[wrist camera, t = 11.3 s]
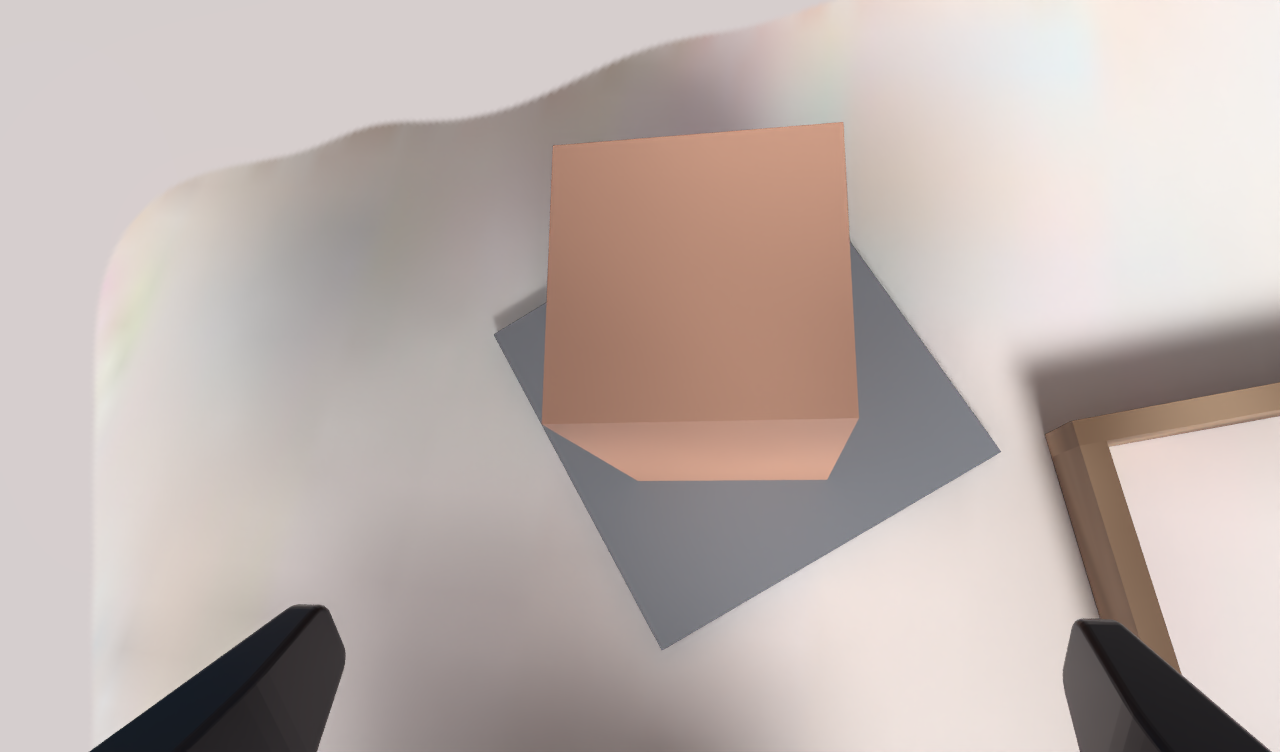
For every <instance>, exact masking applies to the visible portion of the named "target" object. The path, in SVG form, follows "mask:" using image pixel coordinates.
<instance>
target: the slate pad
mask: <svg viewBox="0 0 1280 752" xmlns="http://www.w3.org/2000/svg"><path fill="white" fill-rule="evenodd" d="M850 258H851V276H852V295H853V314H854V333H855V352H856V370H857V389H858V408H859V419H858V421H857V423H856V425H855V427H854V429H853V431H852V433H851V435H850V437H849V438H848V440H847V442H846V444H845V446H844V448H843V450H842V452H841V454H840V456H839V458H838V460H837V462H836V464H835V465H834V467H833V469H832V471H831V473H830V475H829V477H828V479H827V480H722V481H637V480H635V479H634V478H632V477H630V476H629V475H627V474H625V473H623V472H622V471H620V470H618V469H617V468H615V467H613V466H612V465H610V464H608V463H606V462H605V461H603V460H601V459H600V458H598V457H596V456H595V455H593V454H591V453H590V452H588V451H586V450H584V449H583V448H581V447H579V446H578V445H576V444H574V443H573V442H571V441H569V440H568V439H566V438H564V437H562V436H561V435H559V434H557V433H556V432H554V431H552V430H551V429H549V428H547V427H545V426H544V425H542V426H543V428H544V430H545V432H546V434H547V435H548V437H549V439H550V441H551V443H552V445H553V447H554V449H555V451H556V452H557V454H558V456H559V458H560V460H561V462H562V464H563V466H564V467H565V469H566V471H567V473H568V475H569V477H570V479H571V481H572V482H573V484H574V486H575V488H576V490H577V492H578V494H579V496H580V497H581V499H582V501H583V503H584V505H585V507H586V509H587V511H588V513H589V514H590V516H591V518H592V520H593V522H594V524H595V526H596V528H597V529H598V531H599V533H600V535H601V537H602V539H603V541H604V543H605V544H606V546H607V548H608V550H609V552H610V554H611V556H612V558H613V559H614V561H615V563H616V565H617V567H618V569H619V571H620V573H621V574H622V576H623V578H624V580H625V582H626V584H627V586H628V588H629V590H630V591H631V593H632V595H633V597H634V599H635V601H636V603H637V605H638V606H639V608H640V610H641V612H642V614H643V616H644V618H645V620H646V621H647V623H648V625H649V627H650V629H651V631H652V633H653V635H654V636H655V638H656V640H657V642H658V644H659V646H660V648H661V650H664V649H665V648H667V647H669V646H670V645H672V644H674V643H676V642H677V641H679V640H681V639H682V638H684V637H686V636H687V635H689V634H691V633H693V632H694V631H696V630H698V629H699V628H701V627H703V626H705V625H706V624H708V623H710V622H711V621H713V620H715V619H717V618H718V617H720V616H722V615H723V614H725V613H727V612H728V611H730V610H732V609H734V608H735V607H737V606H739V605H740V604H742V603H744V602H746V601H747V600H749V599H751V598H752V597H754V596H756V595H758V594H759V593H761V592H763V591H764V590H766V589H768V588H769V587H771V586H773V585H775V584H776V583H778V582H780V581H781V580H783V579H785V578H787V577H788V576H790V575H792V574H793V573H795V572H797V571H799V570H800V569H802V568H804V567H805V566H807V565H809V564H810V563H812V562H814V561H816V560H817V559H819V558H821V557H822V556H824V555H826V554H828V553H829V552H831V551H833V550H834V549H836V548H838V547H839V546H841V545H843V544H845V543H846V542H848V541H850V540H851V539H853V538H855V537H857V536H858V535H860V534H862V533H863V532H865V531H867V530H869V529H870V528H872V527H874V526H875V525H877V524H879V523H880V522H882V521H884V520H886V519H887V518H889V517H891V516H892V515H894V514H896V513H898V512H899V511H901V510H903V509H904V508H906V507H908V506H910V505H911V504H913V503H915V502H916V501H918V500H920V499H921V498H923V497H925V496H927V495H928V494H930V493H932V492H933V491H935V490H937V489H939V488H940V487H942V486H944V485H945V484H947V483H949V482H951V481H952V480H954V479H956V478H957V477H959V476H961V475H962V474H964V473H966V472H968V471H969V470H971V469H973V468H974V467H976V466H978V465H980V464H981V463H983V462H985V461H986V460H988V459H990V458H992V457H993V456H995V455H997V454H998V453H1000V452H1001V451H1000V449H999V448H998V447H997V445H996V444H995V443H994V441H993V440H992V438H991V437H990V436H989V434H988V433H987V431H986V430H985V429H984V427H983V426H982V424H981V423H980V422H979V420H978V419H977V417H976V416H975V415H974V413H973V412H972V411H971V409H970V408H969V406H968V405H967V404H966V402H965V401H964V399H963V398H962V397H961V395H960V394H959V392H958V391H957V390H956V388H955V387H954V385H953V384H952V383H951V381H950V380H949V379H948V377H947V376H946V374H945V373H944V372H943V370H942V369H941V367H940V366H939V365H938V363H937V362H936V360H935V359H934V358H933V356H932V355H931V353H930V352H929V351H928V349H927V348H926V347H925V345H924V344H923V342H922V341H921V340H920V338H919V337H918V335H917V334H916V333H915V331H914V330H913V328H912V327H911V326H910V324H909V323H908V321H907V320H906V319H905V317H904V316H903V315H902V313H901V312H900V310H899V309H898V308H897V306H896V305H895V303H894V302H893V301H892V299H891V298H890V296H889V295H888V294H887V292H886V291H885V289H884V288H883V287H882V285H881V284H880V283H879V281H878V280H877V278H876V277H875V276H874V274H873V273H872V271H871V270H870V269H869V267H868V266H867V264H866V263H865V262H864V260H863V259H862V257H861V256H860V255H859V253H858V252H857V251H856V249H855V248H854V246H853V245H852V244H851V242H850ZM546 304H547V302H546V303H545V304H543V305H541V306H540V307H538V308H536V309H535V310H533V311H531V312H530V313H528V314H526V315H525V316H523V317H522V318H520V319H518V320H517V321H515V322H513V323H512V324H510V325H508V326H507V327H505V328H503V329H502V330H500V331H498V332H497V333H495V334H494V336H495V338H496V340H497V342H498V343H499V345H500V347H501V349H502V351H503V353H504V355H505V357H506V358H507V360H508V362H509V364H510V366H511V368H512V370H513V372H514V374H515V375H516V377H517V379H518V381H519V383H520V385H521V387H522V389H523V390H524V392H525V394H526V396H527V398H528V400H529V402H530V404H531V405H532V407H533V409H534V411H535V413H536V415H537V417H538V419H539V420H540V422H541V424H542V404H543V379H544V354H545V329H546Z"/></svg>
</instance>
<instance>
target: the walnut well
mask: <svg viewBox="0 0 1280 752" xmlns="http://www.w3.org/2000/svg"><path fill="white" fill-rule="evenodd" d="M1277 416H1280V382H1279V383H1274V384H1268V385H1263V386H1258V387H1252V388H1247V389H1241V390H1236V391H1231V392H1225V393H1220V394H1214V395H1209V396H1203V397H1198V398H1193V399H1187V400H1182V401H1176V402H1171V403H1166V404H1160V405H1155V406H1149V407H1144V408H1139V409H1133V410H1128V411H1122V412H1117V413H1112V414H1106V415H1101V416H1095V417H1090V418H1084V419H1079V420H1074V421H1071V422H1069V423H1067V424H1065V425H1063V426H1061V427H1059V428H1057V429H1055V430H1053V431H1051V432H1049V433H1047V434H1045V436H1046V440H1047V443H1048V446H1049V449H1050V453H1051V456H1052V459H1053V463H1054V466H1055V469H1056V473H1057V476H1058V479H1059V483H1060V486H1061V489H1062V493H1063V496H1064V499H1065V503H1066V506H1067V509H1068V513H1069V516H1070V519H1071V522H1072V526H1073V529H1074V532H1075V536H1076V539H1077V542H1078V546H1079V549H1080V552H1081V556H1082V559H1083V562H1084V566H1085V569H1086V572H1087V576H1088V579H1089V582H1090V585H1091V589H1092V592H1093V595H1094V599H1095V602H1096V605H1097V609H1098V612H1099V615H1100V619H1111V620H1115V621H1117V622H1119V623H1121V624H1122V625H1124V626H1125V627H1126V628H1127V629H1129V630H1130V631H1131V632H1132V633H1133V634H1134V635H1136V636H1137V637H1138V638H1139V639H1140V640H1141V641H1143V642H1144V643H1145V644H1146V645H1147V646H1148V647H1150V648H1151V649H1152V650H1153V651H1154V652H1155V653H1157V654H1158V655H1159V656H1160V657H1161V658H1162V659H1164V660H1165V661H1166V662H1167V663H1168V664H1169V665H1171V666H1172V667H1173V668H1174V669H1175V670H1176V671H1178V672H1179V673H1180V674H1181V671H1180V668H1179V665H1178V662H1177V659H1176V656H1175V652H1174V649H1173V646H1172V643H1171V640H1170V637H1169V634H1168V631H1167V628H1166V624H1165V621H1164V618H1163V615H1162V612H1161V609H1160V606H1159V603H1158V599H1157V596H1156V593H1155V590H1154V587H1153V584H1152V581H1151V578H1150V575H1149V571H1148V568H1147V565H1146V562H1145V559H1144V556H1143V553H1142V550H1141V547H1140V543H1139V540H1138V537H1137V534H1136V531H1135V528H1134V525H1133V522H1132V519H1131V515H1130V512H1129V509H1128V506H1127V503H1126V500H1125V497H1124V494H1123V491H1122V487H1121V484H1120V481H1119V478H1118V475H1117V472H1116V469H1115V466H1114V463H1113V459H1112V456H1111V453H1110V450H1109V447H1110V446H1116V445H1121V444H1127V443H1132V442H1138V441H1144V440H1149V439H1155V438H1160V437H1166V436H1171V435H1177V434H1182V433H1188V432H1194V431H1199V430H1205V429H1210V428H1216V427H1221V426H1227V425H1233V424H1238V423H1244V422H1249V421H1255V420H1260V419H1266V418H1271V417H1277ZM1181 675H1182V674H1181Z"/></svg>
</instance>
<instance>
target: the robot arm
mask: <svg viewBox="0 0 1280 752" xmlns="http://www.w3.org/2000/svg"><path fill="white" fill-rule="evenodd" d="M344 665H345V648H344V645H343V643H342V640H341V638H340V635H339V633H338V631H337V628H336V626H335V623H334V621H333V619H332V616H331V614H330V612H329V610H328V609H327V608H326V607H325V606H323V605H307V604H298V605H293V606H291V607H289V608H288V609H286V610H285V611H283V612H282V613H281V614H279V615H278V616H277V617H275V618H274V619H272V620H271V621H270V622H268V623H267V624H265V625H264V626H263V627H261V628H260V629H259V630H257V631H256V632H254V633H253V634H252V635H250V636H249V637H247V638H246V639H245V640H243V641H242V642H241V643H239V644H238V645H236V646H235V647H234V648H232V649H231V650H229V651H228V652H227V653H225V654H224V655H223V656H221V657H220V658H218V659H217V660H216V661H214V662H213V663H211V664H210V665H209V666H207V667H206V668H205V669H203V670H202V671H200V672H199V673H198V674H196V675H195V676H193V677H192V678H191V679H189V680H188V681H187V682H185V683H184V684H182V685H181V686H180V687H178V688H177V689H175V690H174V691H173V692H171V693H170V694H169V695H167V696H166V697H164V698H163V699H162V700H160V701H159V702H157V703H156V704H155V705H153V706H152V707H151V708H149V709H148V710H146V711H145V712H144V713H142V714H141V715H139V716H138V717H137V718H135V719H134V720H133V721H131V722H130V723H128V724H127V725H126V726H124V727H123V728H121V729H120V730H119V731H117V732H116V733H115V734H113V735H112V736H110V737H109V738H108V739H106V740H105V741H103V742H102V743H101V744H99V745H98V746H97V747H95V748H94V749H92V750H91V751H90V752H317V750H318V747H319V743H320V740H321V737H322V734H323V731H324V728H325V725H326V722H327V719H328V716H329V713H330V710H331V707H332V703H333V700H334V697H335V694H336V691H337V688H338V685H339V682H340V679H341V676H342V673H343V669H344ZM1063 684H1064V690H1065V695H1066V699H1067V703H1068V706H1069V710H1070V714H1071V718H1072V722H1073V726H1074V730H1075V734H1076V738H1077V742H1078V746H1079V750H1080V752H1271V751H1270V750H1269V749H1268V748H1267V747H1265V746H1264V745H1263V744H1262V743H1261V742H1260V741H1258V740H1257V739H1256V738H1255V737H1254V736H1252V735H1251V734H1250V733H1249V732H1248V731H1247V730H1245V729H1244V728H1243V727H1242V726H1241V725H1240V724H1238V723H1237V722H1236V721H1235V720H1234V719H1233V718H1231V717H1230V716H1229V715H1228V714H1227V713H1226V712H1224V711H1223V710H1222V709H1221V708H1220V707H1219V706H1217V705H1216V704H1215V703H1214V702H1213V701H1212V700H1210V699H1209V698H1208V697H1207V696H1206V695H1205V694H1203V693H1202V692H1201V691H1200V690H1199V689H1198V688H1196V687H1195V686H1194V685H1193V684H1192V683H1191V682H1189V681H1188V680H1187V679H1186V678H1185V677H1183V676H1182V675H1181V674H1180V673H1179V672H1178V671H1176V670H1175V669H1174V668H1173V667H1172V666H1171V665H1169V664H1168V663H1167V662H1166V661H1165V660H1164V659H1162V658H1161V657H1160V656H1159V655H1158V654H1157V653H1155V652H1154V651H1153V650H1152V649H1151V648H1150V647H1148V646H1147V645H1146V644H1145V643H1144V642H1143V641H1141V640H1140V639H1139V638H1138V637H1137V636H1136V635H1134V634H1133V633H1132V632H1131V631H1130V630H1129V629H1127V628H1126V627H1125V626H1124V625H1122V624H1121V623H1119V622H1117V621H1115V620H1111V619H1079V620H1077V621H1075V623H1074V624H1073V626H1072V629H1071V634H1070V639H1069V643H1068V648H1067V653H1066V658H1065V662H1064V667H1063Z"/></svg>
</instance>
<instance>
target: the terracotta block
mask: <svg viewBox="0 0 1280 752" xmlns="http://www.w3.org/2000/svg"><path fill="white" fill-rule="evenodd" d="M858 419H859V408H858V389H857V370H856V352H855V333H854V314H853V295H852V276H851V258H850V239H849V220H848V201H847V182H846V163H845V145H844V126H843V122H839V123H826V124H814V125H802V126H789V127H777V128H764V129H752V130H740V131H727V132H715V133H702V134H690V135H677V136H665V137H653V138H640V139H628V140H615V141H603V142H591V143H578V144H566V145H553V155H552V180H551V205H550V230H549V254H548V279H547V304H546V329H545V354H544V379H543V404H542V425H544V426H545V427H547V428H549V429H551V430H552V431H554V432H556V433H557V434H559V435H561V436H562V437H564V438H566V439H568V440H569V441H571V442H573V443H574V444H576V445H578V446H579V447H581V448H583V449H584V450H586V451H588V452H590V453H591V454H593V455H595V456H596V457H598V458H600V459H601V460H603V461H605V462H606V463H608V464H610V465H612V466H613V467H615V468H617V469H618V470H620V471H622V472H623V473H625V474H627V475H629V476H630V477H632V478H634V479H635V480H637V481H722V480H827V479H828V477H829V475H830V473H831V471H832V469H833V467H834V465H835V464H836V462H837V460H838V458H839V456H840V454H841V452H842V450H843V448H844V446H845V444H846V442H847V440H848V438H849V437H850V435H851V433H852V431H853V429H854V427H855V425H856V423H857V421H858Z"/></svg>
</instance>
